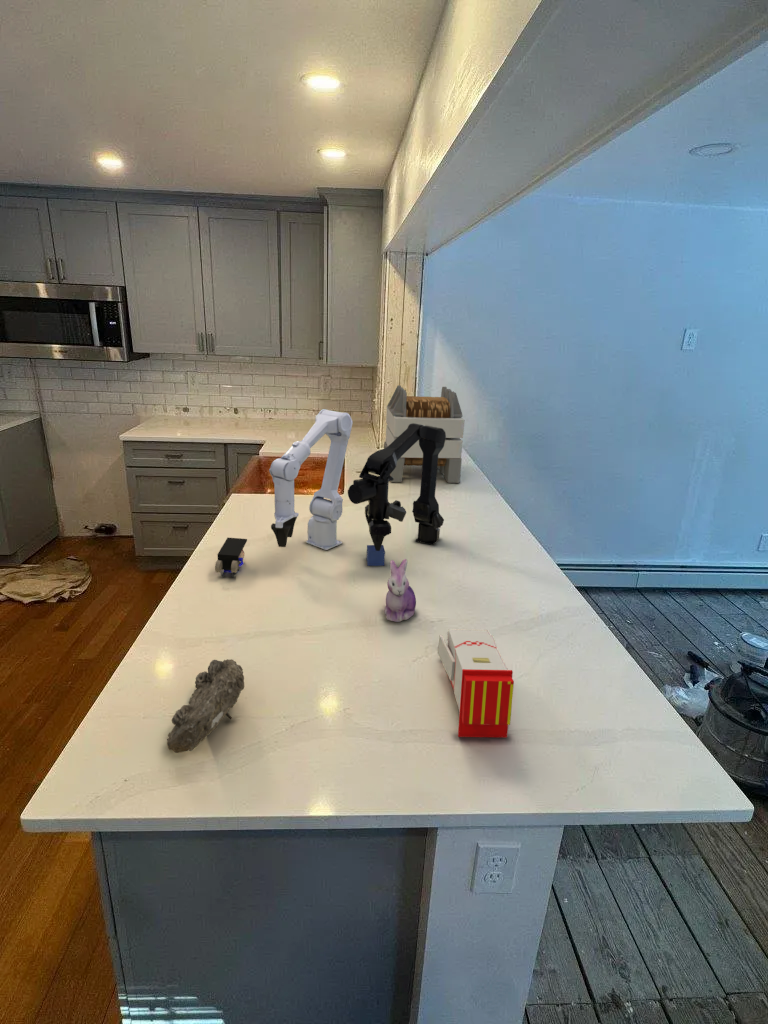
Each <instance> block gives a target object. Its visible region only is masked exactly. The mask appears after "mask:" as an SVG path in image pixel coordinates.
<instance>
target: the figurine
mask: <svg viewBox="0 0 768 1024" xmlns="http://www.w3.org/2000/svg"><path fill="white" fill-rule="evenodd" d="M407 567H408V559H406V558H404V559H403V560H402V561H401V563H400V565H399V566H398V565H397V563H396V562H395V561H394V560H393V559H391V560H390V561H389V570H390V576H389V578H388V579H387V589H388V591H387V592H386V594H385V595H386V596H385V607H384V615H385V616H386V620H387V621H391V622H395V623H400V622H402V621H406V620H409V619H410V618H411V617H413V616H414V615H415V610H416V606H417V597H416V593H415V591H414V590H413V587H411V586H410V582H409V579H408V577H407V574H406V571H407Z"/></svg>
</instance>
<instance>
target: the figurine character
mask: <svg viewBox="0 0 768 1024" xmlns="http://www.w3.org/2000/svg"><path fill="white" fill-rule="evenodd" d="M247 542H248V538H240V537H226V539H225V541H224V543H223V544H222V546H221V547H220V549H219V551H218V552H217V560H216V562H215V564H214V572H215V573H221V577H222V578H224V577H225V576H226V574H227V573H230V574H231V573H232V574H231V578H234V577H235V575H236V573H237V572H239V571H240V567H242V566H243V565H244V564H245V562H244V558H245V551H244V547H245V546H246V544H247Z"/></svg>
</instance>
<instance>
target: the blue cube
mask: <svg viewBox="0 0 768 1024" xmlns="http://www.w3.org/2000/svg"><path fill="white" fill-rule="evenodd" d="M365 559H366V564H367V567H371V566H372V567H378V566H379V567H380V566H381V567H382V566H385V559H386V550H385V546H384V544H382V545H381V549H380V551H376V549H375V546H374V544H366V558H365Z"/></svg>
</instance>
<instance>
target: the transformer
mask: <svg viewBox="0 0 768 1024" xmlns="http://www.w3.org/2000/svg"><path fill="white" fill-rule="evenodd" d="M440 393H441V394H440V396H415V395H414V396H413V395H412V396H411V395H407V394H408V393H407V390H406V389H404V388H403V387H402V385H399V384H398V385H397V386H396V388H395V390H394V392H393V394H392V395H391V398H390V400H389V402H388V404H387V405H386V413H385V414H386V415H385V423H386V428H385V438H384V442H383V449H385V448H386V447H388V446H389V445H390V444H391V443H392V442H393V441H394V440H395V439H396V438H398V437H399V436H400V435H401V434H402V433H403V432H404V431H405V430H406V429H407V428H408V426H409V425H410V424H412V423H416V424H421V425H424V426H425V425H428V426H432V427H437V428H442V429H443V430H444V432H445V433H446V439H445V443H444V447H443V449H442V450H441V451H440V453H439V455H438V465H437V470H438V469H439V473H440V474H441V475H443V478H444V479H445V481H446V482H447V483H449V484H455V483H456V484H459V483H461V472H462V461H463V460H462V453H463V442H464V441H463V440H462V439H463V438H464V431H465V430H464V429H465V419H464V418H463V411H462V408H461V405H460V402H459V398H458V395H457V392H455V391H453V390H452V389H451V388H447V386H442V387H441V392H440ZM422 461H423V452H422V450H421V448H420V446H419V440H418V441H417V442H416V443H415V444H414V445H413V446H412V447H411V448H410V449H409V450H408V451H406V452H405V453H404V454H403V455H402V456H401V457H400V458H399V459H398V461H397V466H396V468H395V469H394V470H393V472H392V473H391V474H390V476H391V477H393V478H394V480H392V481H390V482H391V483H402V482H403V475H404V469H405V466H406V467H407V466H411V467H412V466H413V467H415V466H416V467H417V466H418V467H422Z"/></svg>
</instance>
